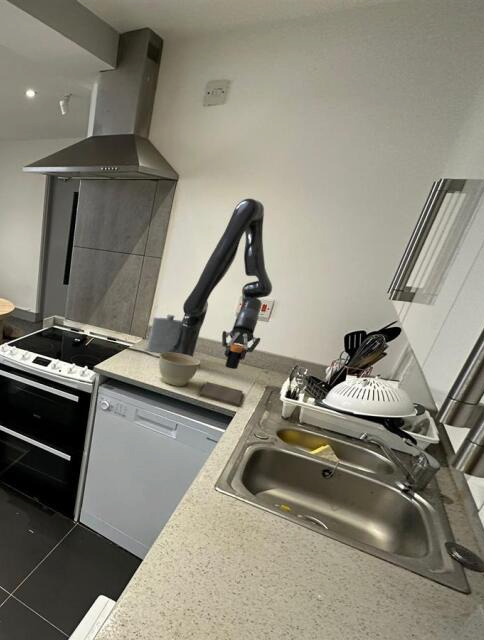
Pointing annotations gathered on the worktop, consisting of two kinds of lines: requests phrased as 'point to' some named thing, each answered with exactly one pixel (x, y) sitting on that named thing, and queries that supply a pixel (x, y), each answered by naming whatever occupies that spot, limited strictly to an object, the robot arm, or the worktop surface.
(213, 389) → the walnut board
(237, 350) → the battery
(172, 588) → the worktop surface
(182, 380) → the planter bowl
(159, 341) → the hip flask
